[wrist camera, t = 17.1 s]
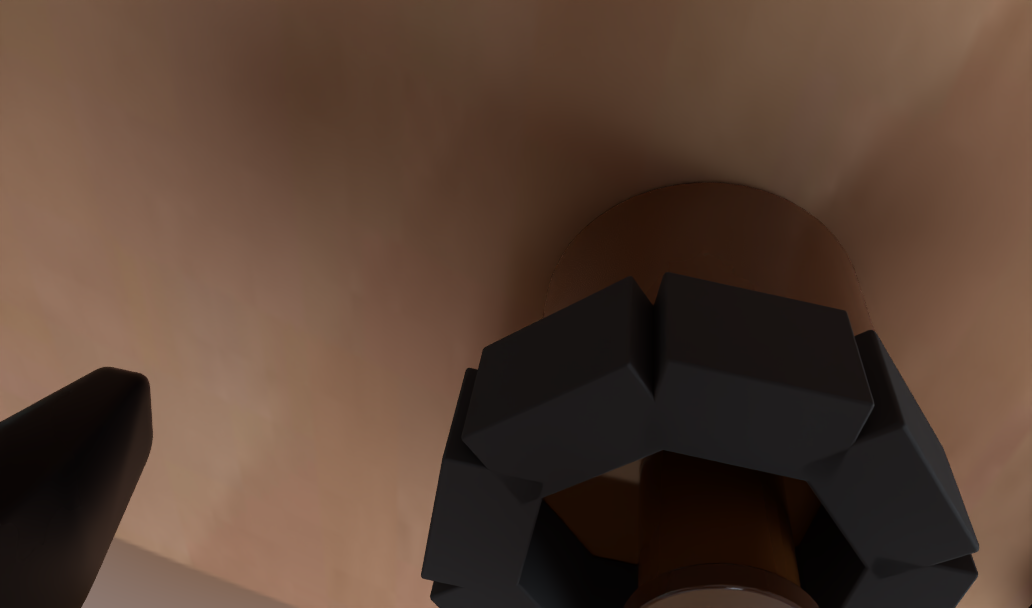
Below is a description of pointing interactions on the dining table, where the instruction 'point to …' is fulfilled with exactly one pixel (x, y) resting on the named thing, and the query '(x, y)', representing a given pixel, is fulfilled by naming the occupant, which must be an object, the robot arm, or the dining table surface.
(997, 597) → the dining table surface
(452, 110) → the dining table surface
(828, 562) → the black octagonal ring
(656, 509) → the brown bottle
